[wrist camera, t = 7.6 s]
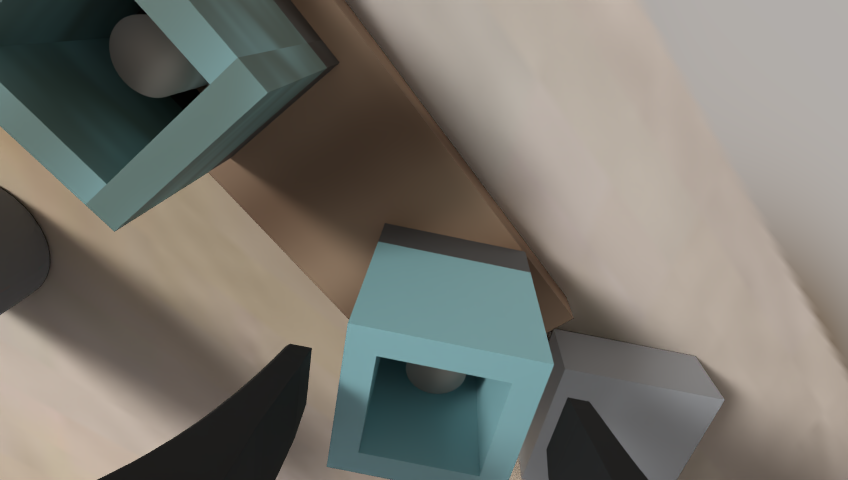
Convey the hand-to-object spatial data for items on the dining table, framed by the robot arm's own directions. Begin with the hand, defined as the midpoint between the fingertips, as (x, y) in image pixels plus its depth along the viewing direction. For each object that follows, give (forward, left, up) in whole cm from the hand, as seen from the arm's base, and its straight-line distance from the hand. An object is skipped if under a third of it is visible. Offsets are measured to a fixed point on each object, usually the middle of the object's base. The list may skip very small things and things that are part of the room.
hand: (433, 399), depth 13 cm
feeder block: (-4, -8, -7) cm, 11 cm away
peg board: (+4, +4, -7) cm, 9 cm away
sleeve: (0, 0, -5) cm, 5 cm away
